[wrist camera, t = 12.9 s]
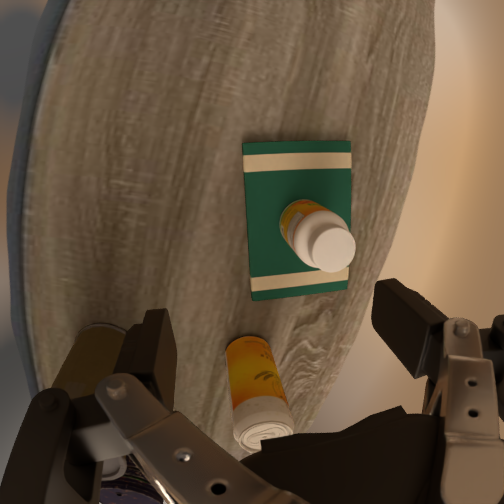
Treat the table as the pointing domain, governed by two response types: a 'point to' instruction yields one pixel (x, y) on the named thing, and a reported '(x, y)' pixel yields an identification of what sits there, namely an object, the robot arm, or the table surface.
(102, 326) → the canister
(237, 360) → the beer can
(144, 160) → the table surface
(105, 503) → the dark cylinder
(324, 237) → the supplement bottle
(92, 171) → the table surface
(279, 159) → the towel
